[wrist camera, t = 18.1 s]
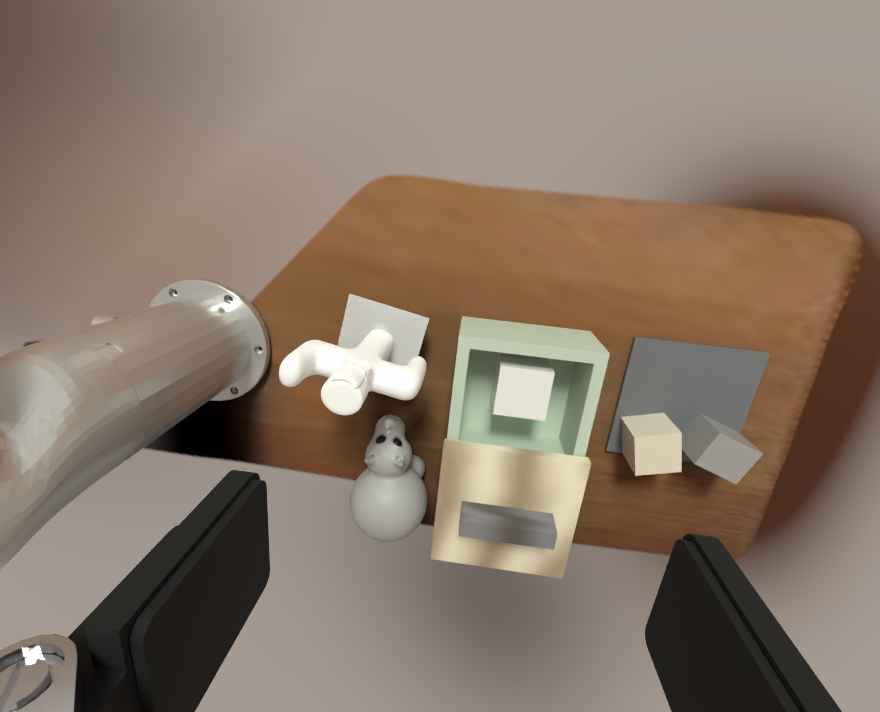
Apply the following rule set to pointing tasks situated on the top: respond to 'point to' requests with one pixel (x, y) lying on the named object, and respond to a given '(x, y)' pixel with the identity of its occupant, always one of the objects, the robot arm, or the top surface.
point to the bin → (571, 394)
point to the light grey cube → (718, 448)
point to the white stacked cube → (522, 386)
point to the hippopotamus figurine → (389, 485)
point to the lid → (507, 507)
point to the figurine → (363, 357)
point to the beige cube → (651, 444)
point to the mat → (687, 384)
